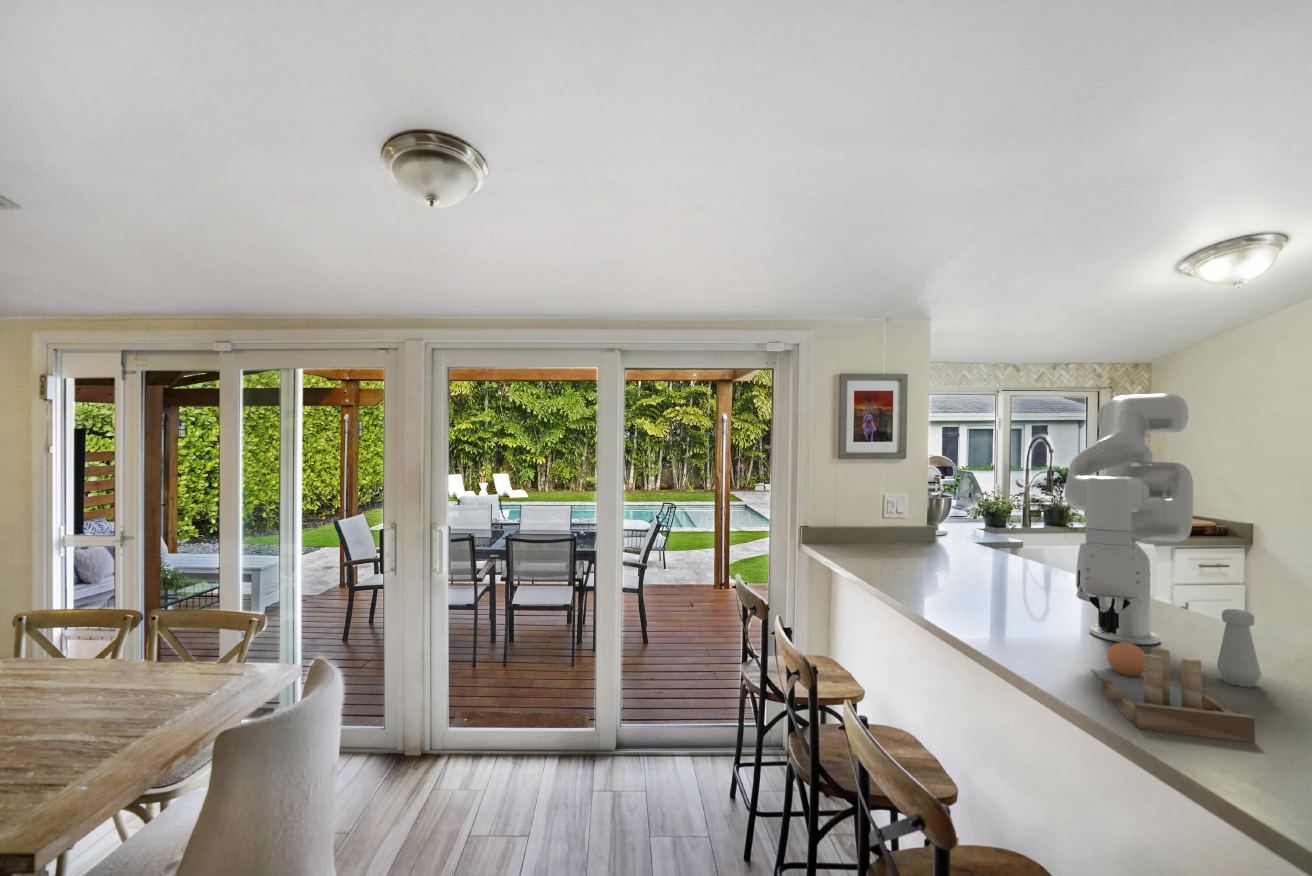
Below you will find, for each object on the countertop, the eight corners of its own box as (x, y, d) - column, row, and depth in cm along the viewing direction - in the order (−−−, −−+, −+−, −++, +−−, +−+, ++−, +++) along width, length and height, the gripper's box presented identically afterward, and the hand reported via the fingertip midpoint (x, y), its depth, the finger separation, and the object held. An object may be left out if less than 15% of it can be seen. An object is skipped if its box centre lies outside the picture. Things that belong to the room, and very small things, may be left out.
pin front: (1148, 701, 105) (1148, 647, 105) (1166, 703, 104) (1165, 648, 104) (1154, 706, 102) (1154, 651, 103) (1172, 708, 102) (1172, 653, 102)
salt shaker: (1269, 690, 109) (1268, 615, 109) (1231, 688, 110) (1230, 614, 111) (1245, 678, 115) (1244, 607, 115) (1209, 676, 116) (1208, 605, 116)
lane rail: (1102, 690, 109) (1101, 670, 109) (1200, 701, 105) (1200, 680, 105) (1138, 728, 94) (1138, 705, 94) (1254, 742, 90) (1254, 718, 90)
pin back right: (1141, 709, 101) (1140, 653, 102) (1159, 711, 101) (1158, 655, 101) (1147, 715, 99) (1147, 658, 99) (1166, 717, 98) (1165, 659, 98)
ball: (1102, 668, 120) (1102, 636, 120) (1140, 671, 118) (1139, 640, 118) (1114, 679, 115) (1113, 646, 115) (1153, 683, 113) (1153, 649, 113)
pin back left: (1178, 713, 100) (1178, 656, 100) (1197, 715, 99) (1196, 658, 99) (1186, 719, 98) (1185, 661, 98) (1205, 722, 97) (1204, 663, 97)
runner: (1090, 670, 119) (1090, 669, 119) (1160, 677, 116) (1160, 676, 116) (1148, 728, 94) (1148, 727, 94) (1239, 739, 91) (1239, 738, 91)
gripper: (1145, 539, 126) (1145, 631, 125) (1059, 534, 131) (1059, 623, 130) (1161, 543, 119) (1162, 641, 118) (1070, 538, 124) (1070, 632, 123)
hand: (1108, 631), depth 124 cm, fingers closed
